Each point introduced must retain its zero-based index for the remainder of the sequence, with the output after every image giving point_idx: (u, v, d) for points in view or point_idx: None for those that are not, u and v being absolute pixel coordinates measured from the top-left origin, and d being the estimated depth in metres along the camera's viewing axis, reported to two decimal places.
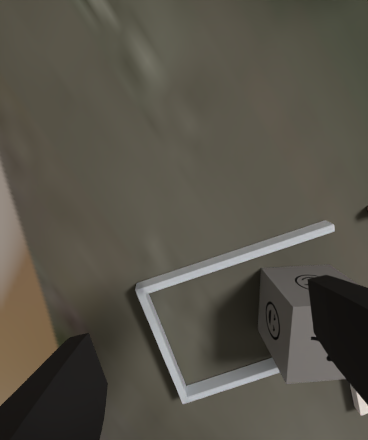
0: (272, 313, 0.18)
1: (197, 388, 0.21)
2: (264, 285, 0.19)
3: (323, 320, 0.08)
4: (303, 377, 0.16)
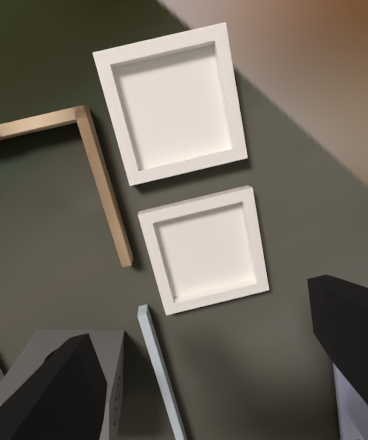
0: None
1: None
2: None
3: (323, 320, 0.08)
4: None
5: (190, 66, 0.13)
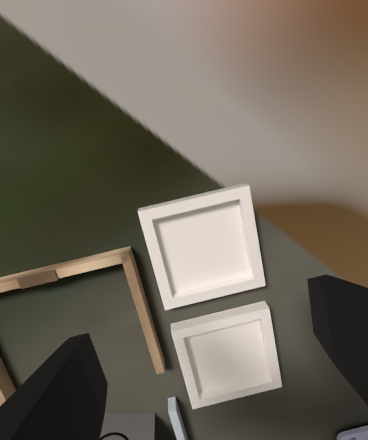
0: None
1: None
2: None
3: (323, 320, 0.08)
4: None
5: (217, 213, 0.15)
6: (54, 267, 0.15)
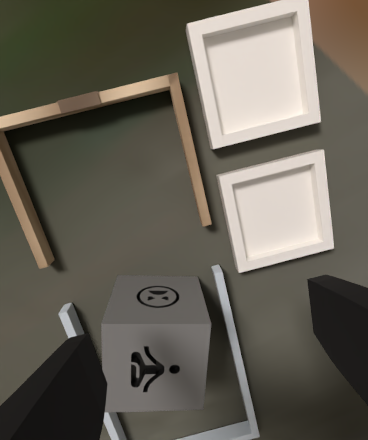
0: None
1: (247, 418, 0.20)
2: None
3: (323, 320, 0.08)
4: (197, 394, 0.14)
5: (270, 36, 0.14)
6: None
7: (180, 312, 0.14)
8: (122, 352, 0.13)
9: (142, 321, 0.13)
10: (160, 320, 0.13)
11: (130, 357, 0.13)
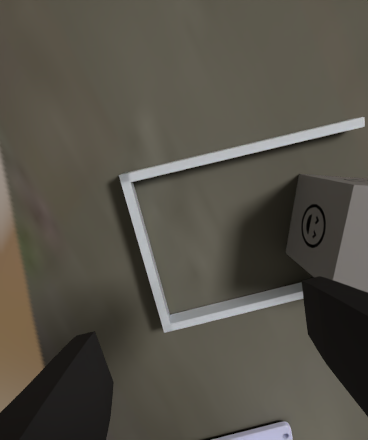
0: (313, 217, 0.15)
1: (183, 316, 0.18)
2: (302, 190, 0.16)
3: (317, 322, 0.08)
4: (351, 284, 0.13)
5: None
6: None
7: None
8: None
9: None
10: None
11: None
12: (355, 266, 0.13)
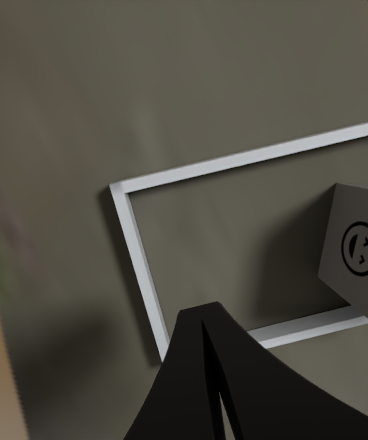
0: (359, 237, 0.12)
1: None
2: (342, 204, 0.13)
3: None
4: None
5: None
6: None
7: None
8: None
9: None
10: None
11: None
12: None
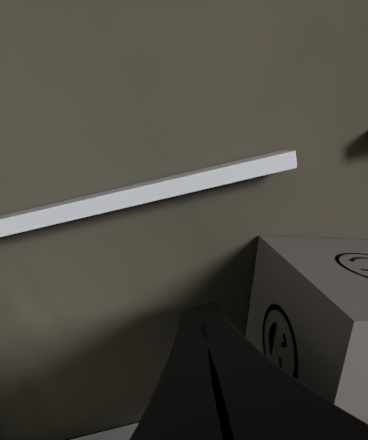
0: (278, 330, 0.08)
1: None
2: (264, 269, 0.09)
3: None
4: None
5: None
6: None
7: None
8: None
9: None
10: None
11: None
12: None
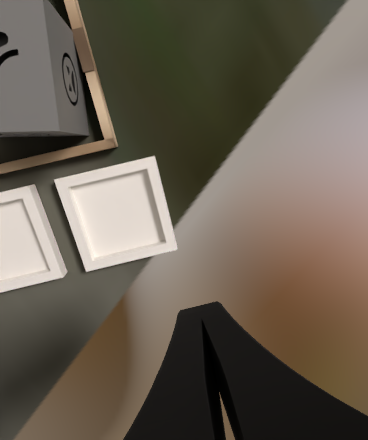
0: None
1: None
2: None
3: None
4: None
5: (152, 225, 0.18)
6: (94, 68, 0.15)
7: (62, 99, 0.12)
8: (4, 20, 0.11)
9: (50, 47, 0.11)
10: (54, 71, 0.11)
11: None
12: None
